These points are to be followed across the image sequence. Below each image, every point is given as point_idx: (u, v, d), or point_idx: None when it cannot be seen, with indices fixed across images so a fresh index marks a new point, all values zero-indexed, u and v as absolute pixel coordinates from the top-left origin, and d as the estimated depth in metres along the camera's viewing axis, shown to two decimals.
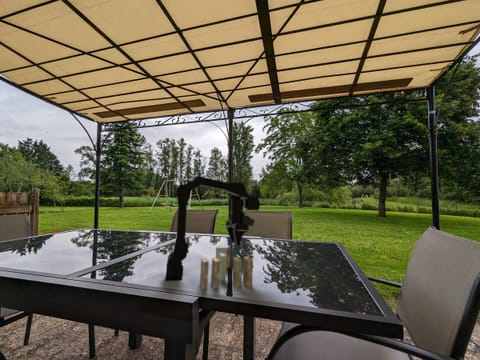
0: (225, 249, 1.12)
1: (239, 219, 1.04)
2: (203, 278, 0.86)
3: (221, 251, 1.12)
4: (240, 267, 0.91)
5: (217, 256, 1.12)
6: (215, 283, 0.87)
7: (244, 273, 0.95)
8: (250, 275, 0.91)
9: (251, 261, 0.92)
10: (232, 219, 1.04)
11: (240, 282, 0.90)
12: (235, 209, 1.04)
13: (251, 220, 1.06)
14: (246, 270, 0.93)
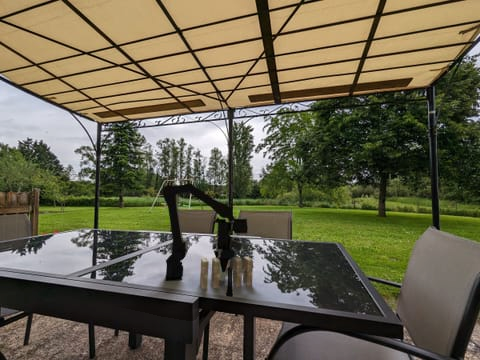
0: None
1: (225, 244, 0.98)
2: (203, 278, 0.86)
3: None
4: (240, 267, 0.91)
5: None
6: (215, 283, 0.87)
7: (244, 273, 0.95)
8: (250, 275, 0.91)
9: (251, 261, 0.92)
10: (218, 244, 0.98)
11: (240, 282, 0.90)
12: (221, 233, 0.98)
13: (239, 244, 1.00)
14: (246, 270, 0.93)
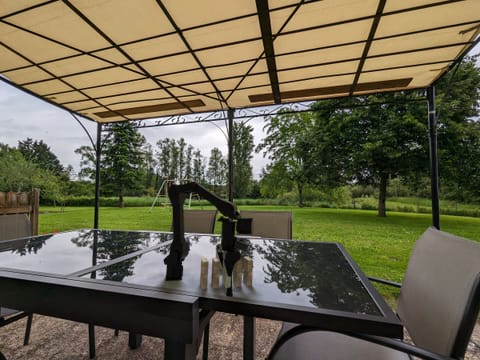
0: None
1: (230, 245, 0.90)
2: (203, 278, 0.86)
3: None
4: (240, 267, 0.91)
5: (217, 256, 1.12)
6: (215, 283, 0.87)
7: (244, 273, 0.95)
8: (250, 275, 0.91)
9: (251, 261, 0.92)
10: (222, 245, 0.91)
11: (240, 282, 0.90)
12: (226, 233, 0.91)
13: (244, 245, 0.92)
14: (246, 270, 0.93)
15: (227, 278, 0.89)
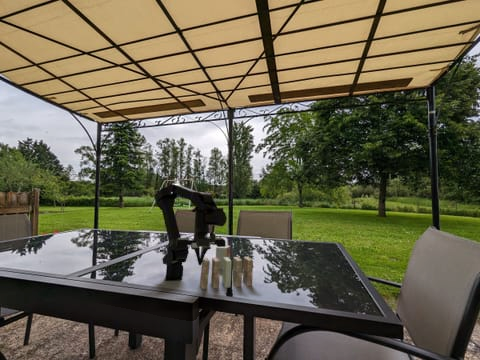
0: (225, 249, 1.12)
1: (194, 235, 0.89)
2: (203, 278, 0.86)
3: (221, 251, 1.12)
4: (240, 267, 0.91)
5: (217, 256, 1.12)
6: (215, 283, 0.87)
7: (244, 273, 0.95)
8: (250, 275, 0.91)
9: (251, 261, 0.92)
10: None
11: (240, 282, 0.90)
12: None
13: (196, 238, 0.83)
14: (246, 270, 0.93)
15: (227, 278, 0.89)
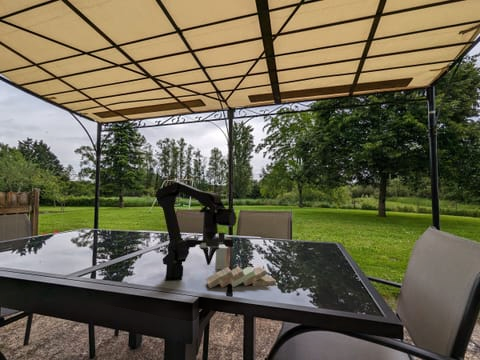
0: (225, 249, 1.12)
1: None
2: (217, 279, 0.88)
3: (221, 251, 1.12)
4: (260, 276, 0.92)
5: (217, 256, 1.12)
6: (224, 282, 0.88)
7: None
8: (262, 284, 0.92)
9: None
10: None
11: (248, 283, 0.91)
12: None
13: (206, 238, 0.84)
14: (264, 279, 0.94)
15: (239, 280, 0.90)
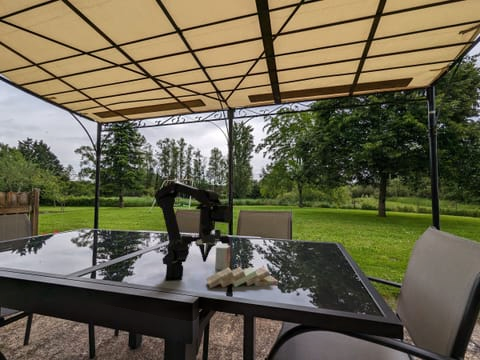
0: (225, 249, 1.12)
1: (199, 232, 0.90)
2: (218, 279, 0.88)
3: (221, 251, 1.12)
4: (263, 276, 0.93)
5: (217, 256, 1.12)
6: (225, 282, 0.88)
7: None
8: (264, 284, 0.93)
9: None
10: None
11: (251, 283, 0.91)
12: None
13: (202, 235, 0.84)
14: (266, 280, 0.95)
15: (241, 279, 0.90)
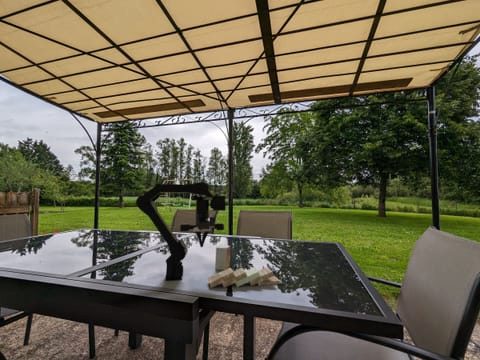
0: (225, 249, 1.12)
1: None
2: (219, 279, 0.88)
3: (221, 251, 1.12)
4: (267, 277, 0.92)
5: (217, 256, 1.12)
6: (226, 282, 0.88)
7: None
8: (267, 284, 0.93)
9: None
10: None
11: (254, 283, 0.91)
12: None
13: (198, 222, 0.93)
14: (269, 280, 0.95)
15: (244, 280, 0.90)
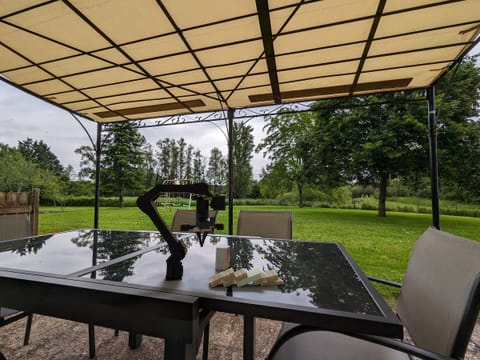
0: (225, 249, 1.12)
1: None
2: (219, 279, 0.88)
3: (221, 251, 1.12)
4: (271, 279, 0.91)
5: (217, 256, 1.12)
6: (227, 282, 0.88)
7: None
8: (270, 284, 0.93)
9: (282, 284, 0.94)
10: None
11: (258, 283, 0.90)
12: None
13: (198, 222, 0.94)
14: None
15: (244, 280, 0.89)
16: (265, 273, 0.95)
